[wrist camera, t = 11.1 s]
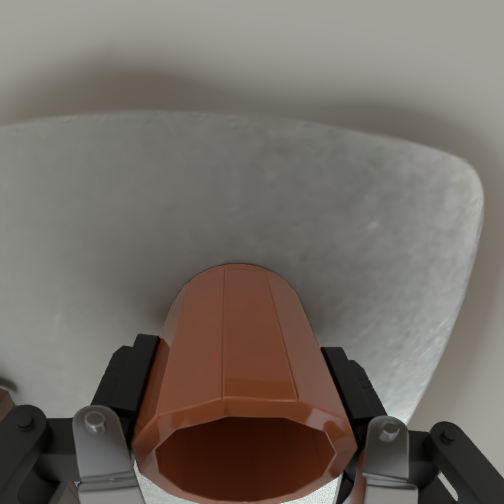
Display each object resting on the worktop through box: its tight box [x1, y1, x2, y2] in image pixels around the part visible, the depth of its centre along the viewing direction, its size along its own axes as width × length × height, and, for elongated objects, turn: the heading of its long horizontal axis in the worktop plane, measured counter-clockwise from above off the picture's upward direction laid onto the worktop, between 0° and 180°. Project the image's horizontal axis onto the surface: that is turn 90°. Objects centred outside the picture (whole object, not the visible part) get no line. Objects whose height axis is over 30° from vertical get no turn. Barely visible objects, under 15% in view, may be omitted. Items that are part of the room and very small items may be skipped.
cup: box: [131, 264, 358, 504], centre depth 10 cm, size 6×6×7 cm
